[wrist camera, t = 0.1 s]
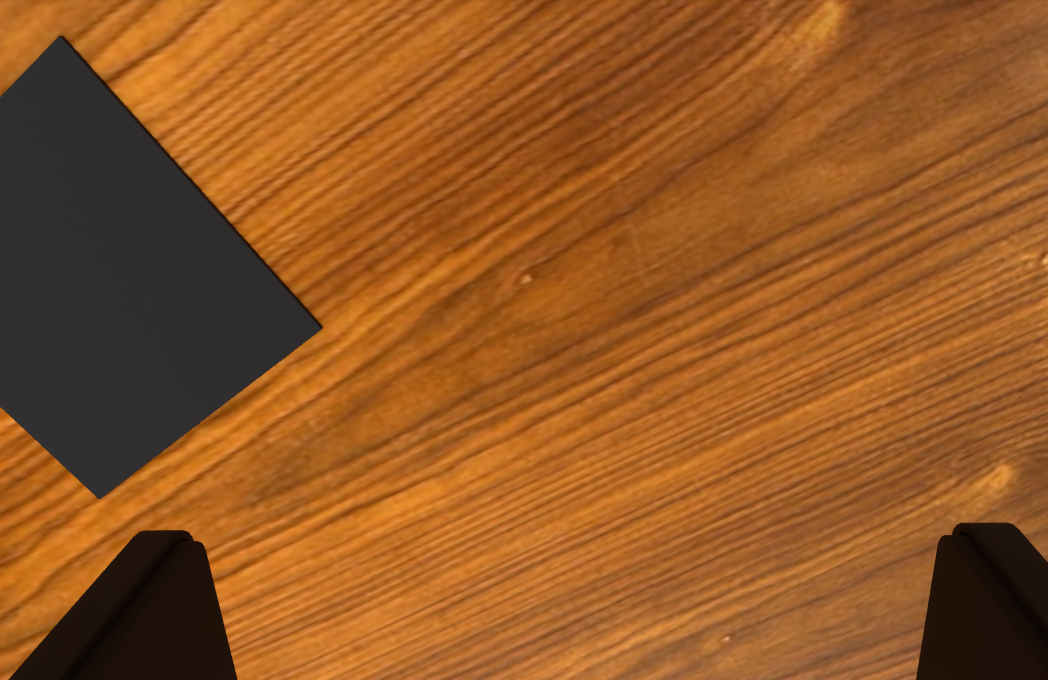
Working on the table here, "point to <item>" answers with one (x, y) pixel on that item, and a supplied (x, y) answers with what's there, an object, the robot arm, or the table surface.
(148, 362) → the mat
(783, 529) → the table surface
